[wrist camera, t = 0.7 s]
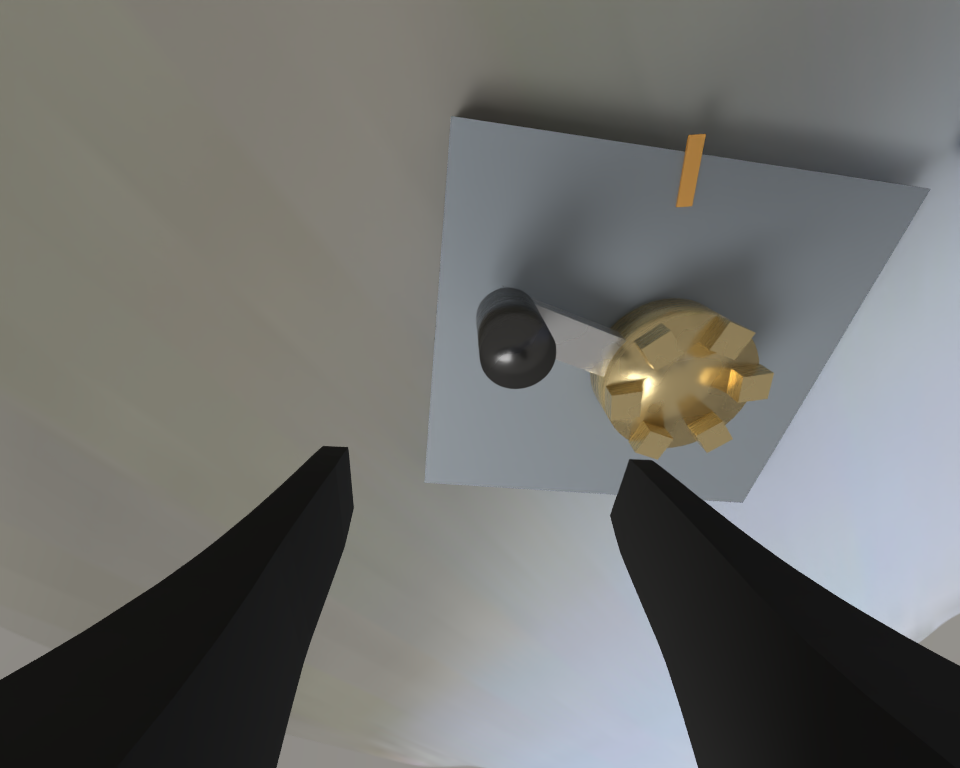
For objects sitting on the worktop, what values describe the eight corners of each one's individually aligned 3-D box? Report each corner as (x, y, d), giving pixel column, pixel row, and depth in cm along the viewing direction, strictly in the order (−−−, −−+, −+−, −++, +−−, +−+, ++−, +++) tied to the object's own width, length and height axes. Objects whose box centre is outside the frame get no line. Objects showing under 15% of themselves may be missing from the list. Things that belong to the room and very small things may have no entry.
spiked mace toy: (756, 328, 18) (858, 382, 13) (673, 435, 21) (734, 511, 16) (507, 218, 15) (527, 239, 11) (450, 359, 18) (447, 424, 13)
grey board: (903, 171, 17) (943, 171, 15) (727, 484, 25) (743, 503, 23) (453, 101, 15) (452, 94, 13) (426, 464, 23) (424, 483, 22)
